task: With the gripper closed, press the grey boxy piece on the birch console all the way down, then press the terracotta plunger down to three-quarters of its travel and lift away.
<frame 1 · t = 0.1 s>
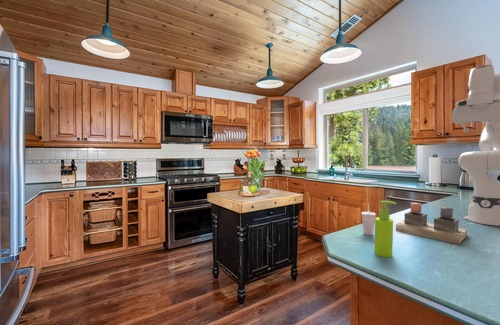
hand: (479, 131, 114), 48 cm above the counter, fingers open, 8 cm apart
soap dispenser: (384, 254, 92), on the counter
terracotta button: (416, 207, 121), point 11 cm above the counter, slide at 0.0 cm
smoothie: (368, 234, 115), on the counter
grey boxy piece: (446, 212, 112), point 11 cm above the counter, slide at 0.0 cm
console: (430, 232, 117), on the counter
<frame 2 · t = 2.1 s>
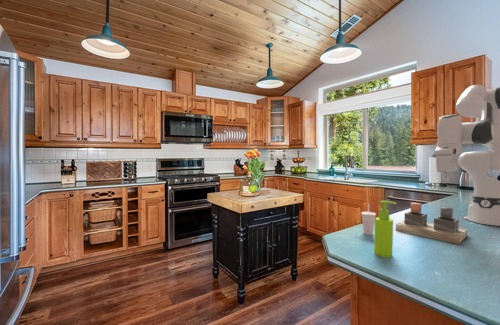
hand: (447, 181, 111), 25 cm above the counter, fingers closed
nothing on the counter moved.
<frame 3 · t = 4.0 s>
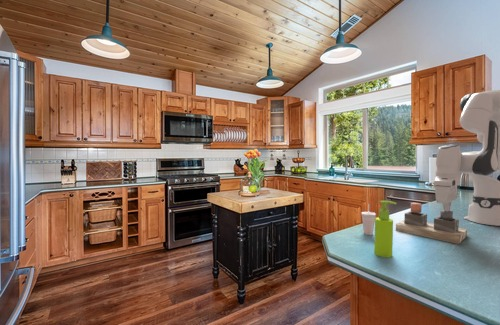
hand: (446, 211, 112), 12 cm above the counter, fingers closed, pressing on grey boxy piece
grey boxy piece: (446, 215, 112), point 10 cm above the counter, slide at 1.5 cm, touching gripper
everything else where it was.
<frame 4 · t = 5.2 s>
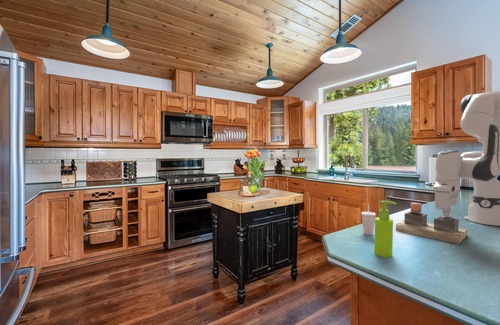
hand: (446, 216, 112), 9 cm above the counter, fingers closed
grey boxy piece: (446, 221, 112), point 7 cm above the counter, slide at 4.1 cm
everything else where it was.
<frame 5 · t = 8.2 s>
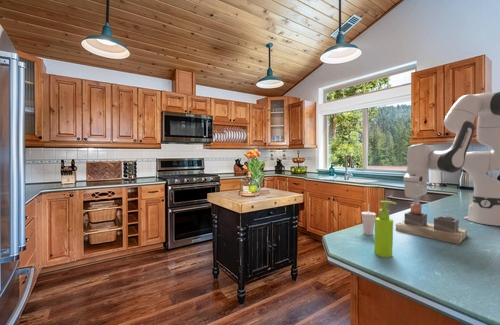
hand: (416, 205, 121), 12 cm above the counter, fingers closed, pressing on terracotta button
terracotta button: (416, 209, 121), point 10 cm above the counter, slide at 0.7 cm, touching gripper
everything else where it was.
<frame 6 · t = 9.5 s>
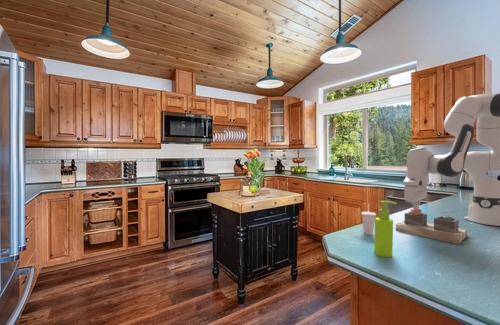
hand: (415, 208, 121), 10 cm above the counter, fingers closed
terracotta button: (415, 213, 121), point 8 cm above the counter, slide at 2.9 cm
everything else where it was.
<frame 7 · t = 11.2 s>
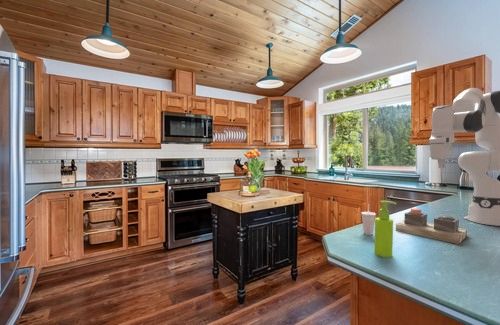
hand: (441, 168, 119), 31 cm above the counter, fingers closed
nothing on the counter moved.
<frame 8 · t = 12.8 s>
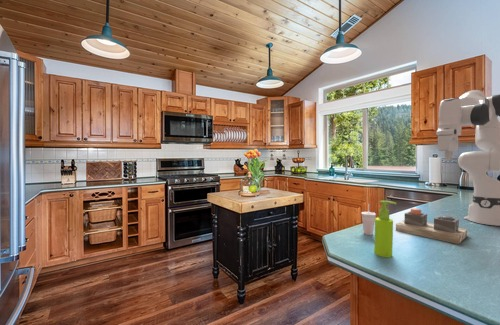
hand: (448, 160, 119), 34 cm above the counter, fingers closed
nothing on the counter moved.
at the end: grey boxy piece slide at 4.1 cm; terracotta button slide at 2.9 cm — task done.
